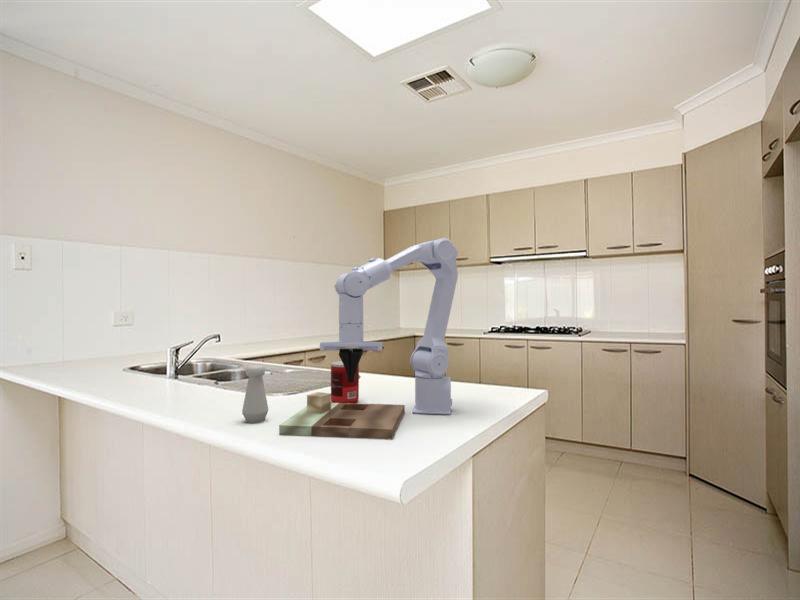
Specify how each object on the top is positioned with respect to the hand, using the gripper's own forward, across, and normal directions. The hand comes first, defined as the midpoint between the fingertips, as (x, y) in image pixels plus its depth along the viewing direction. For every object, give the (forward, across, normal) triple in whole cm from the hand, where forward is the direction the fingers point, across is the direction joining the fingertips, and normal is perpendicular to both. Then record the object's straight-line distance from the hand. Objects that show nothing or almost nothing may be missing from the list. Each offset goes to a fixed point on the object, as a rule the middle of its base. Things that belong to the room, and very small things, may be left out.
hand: (351, 381), depth 105 cm
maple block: (+7, +8, -1) cm, 11 cm away
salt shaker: (+9, +23, 0) cm, 25 cm away
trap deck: (+9, +1, +2) cm, 9 cm away
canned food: (+10, +5, -20) cm, 23 cm away
